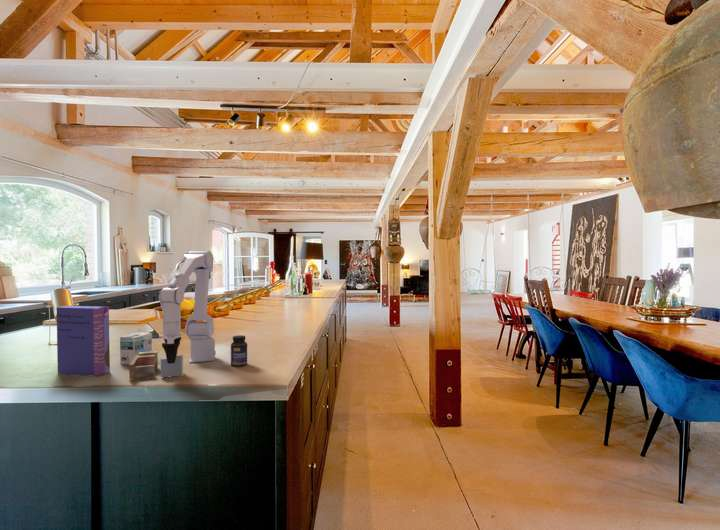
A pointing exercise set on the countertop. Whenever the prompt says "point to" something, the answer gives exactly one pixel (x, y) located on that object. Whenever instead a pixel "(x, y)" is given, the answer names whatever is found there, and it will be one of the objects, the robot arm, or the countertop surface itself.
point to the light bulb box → (134, 346)
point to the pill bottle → (239, 351)
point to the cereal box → (83, 340)
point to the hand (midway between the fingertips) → (172, 360)
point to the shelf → (143, 365)
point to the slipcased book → (172, 367)
